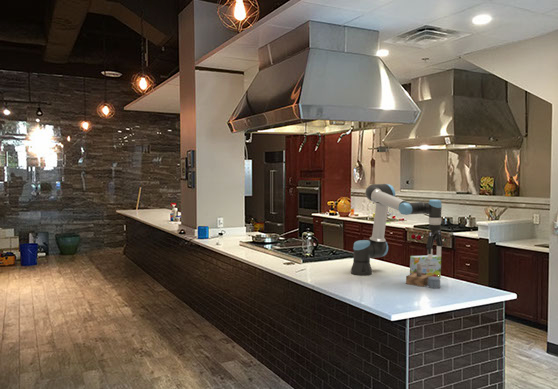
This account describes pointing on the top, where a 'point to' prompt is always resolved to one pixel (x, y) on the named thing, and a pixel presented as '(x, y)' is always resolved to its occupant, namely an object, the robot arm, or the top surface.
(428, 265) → the snack box
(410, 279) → the block
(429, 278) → the cap
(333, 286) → the top surface
